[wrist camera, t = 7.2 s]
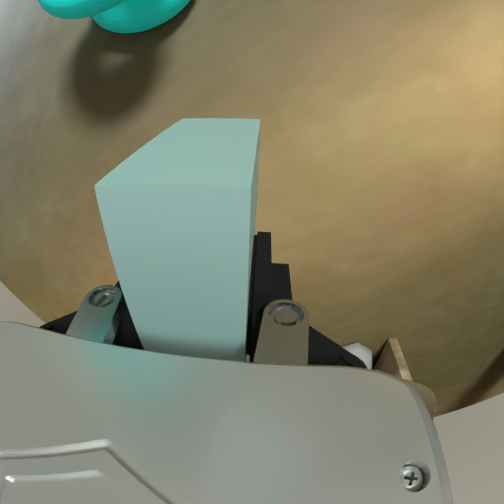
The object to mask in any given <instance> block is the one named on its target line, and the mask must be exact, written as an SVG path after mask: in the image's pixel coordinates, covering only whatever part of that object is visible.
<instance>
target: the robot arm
mask: <svg viewBox="0 0 504 504" xmlns="http://www.w3.org/2000/svg"><path fill="white" fill-rule="evenodd" d="M246 355H250V362H240V361H228V360H217V359H207V358H198V357H189V356H181V355H174V354H166V353H159V352H153V351H146V350H144V348H143V346H142V343H141V341H140V338H139V336H138V333H137V331H136V328H135V326H134V323H133V320H132V318H131V315H130V312H129V309H128V306H127V304H126V301H125V298H124V295H123V292H122V289H121V286H120V283H119V281H118V282H117V284H116V285H115V286H112V285H103V286H99V287H96V288H94V289H93V290H91V291H90V292H89V293H88V294H87V295H86V297H85V298H84V300H83V302H82V304H81V306H80V307H79V309H78V311H76V312H73V313H71V314H68V315H66V316H63V317H61V318H59V319H56V320H54V321H51V322H49V323H46V324H44V325H42V326H41V327H39V328H38V327H34V326H29V325H26V324H22V323H15V322H8V321H6V322H5V321H0V504H453V498H452V492H451V487H450V482H449V477H448V472H447V467H446V463H445V458H444V454H443V451H442V447H441V444H440V441H439V438H438V435H437V432H436V428H435V426H434V423H433V417H434V412H435V406H436V398H435V396H434V394H433V392H432V391H431V390H430V389H429V388H428V387H426V386H424V385H421V384H418V383H415V382H412V381H409V380H406V379H403V378H400V377H397V376H394V375H391V374H388V373H385V372H382V371H380V370H377V369H376V370H371V369H367V366H366V365H365V363H364V362H363V361H362V360H361V359H359V358H358V357H357V356H355V355H353V354H352V353H350V352H349V351H347V350H346V349H344V348H343V347H341V346H339V345H338V344H336V343H335V342H333V341H332V340H330V339H329V338H327V337H326V336H324V335H323V334H321V333H319V332H318V331H316V330H315V329H313V328H312V327H310V326H309V314H308V311H307V309H306V308H305V307H304V306H303V305H301V304H300V303H298V302H296V301H292V292H291V283H290V273H289V265H288V264H278V263H271V232H258V234H257V235H254V240H253V251H252V262H251V273H250V285H249V301H248V324H247V347H246Z"/></svg>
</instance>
